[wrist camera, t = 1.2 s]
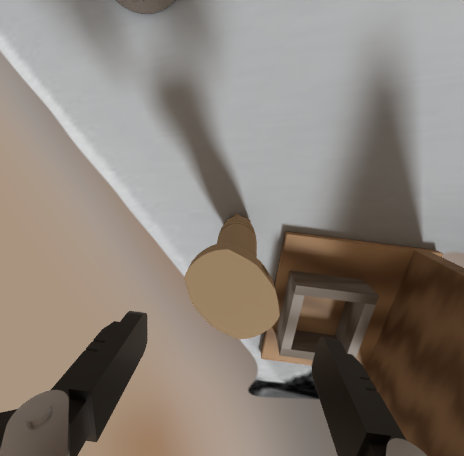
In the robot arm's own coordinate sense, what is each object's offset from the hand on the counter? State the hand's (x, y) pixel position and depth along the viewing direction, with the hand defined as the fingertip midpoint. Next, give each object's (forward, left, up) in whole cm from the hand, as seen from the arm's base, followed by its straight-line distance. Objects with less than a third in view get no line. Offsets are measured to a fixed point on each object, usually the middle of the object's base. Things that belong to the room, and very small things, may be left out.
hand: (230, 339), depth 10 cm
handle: (0, 0, -18) cm, 18 cm away
